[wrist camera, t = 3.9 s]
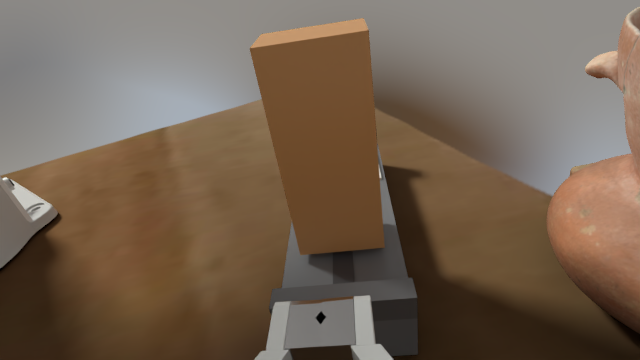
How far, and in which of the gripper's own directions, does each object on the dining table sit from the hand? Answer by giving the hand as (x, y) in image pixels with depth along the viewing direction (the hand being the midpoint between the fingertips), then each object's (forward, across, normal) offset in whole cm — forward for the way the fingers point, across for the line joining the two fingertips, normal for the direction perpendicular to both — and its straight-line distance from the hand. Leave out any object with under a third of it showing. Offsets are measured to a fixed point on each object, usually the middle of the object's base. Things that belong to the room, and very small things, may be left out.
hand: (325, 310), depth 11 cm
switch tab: (+10, 0, +6) cm, 11 cm away
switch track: (+14, 0, +9) cm, 17 cm away
